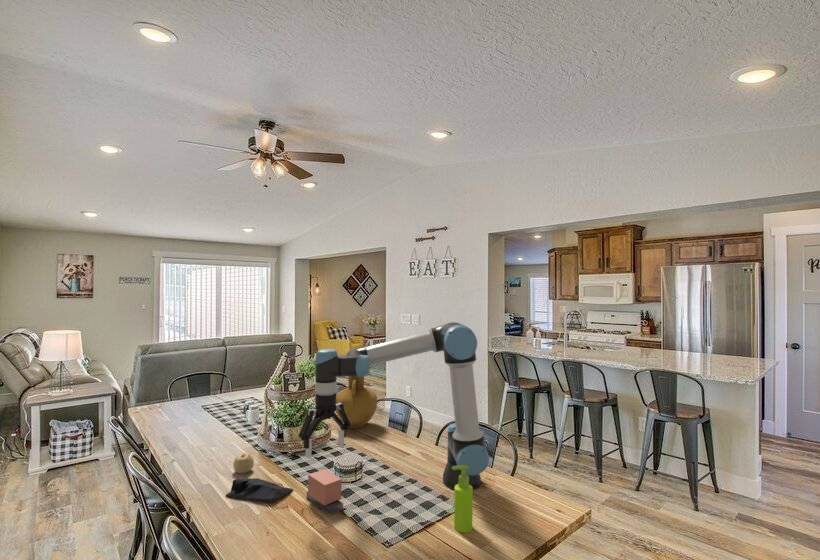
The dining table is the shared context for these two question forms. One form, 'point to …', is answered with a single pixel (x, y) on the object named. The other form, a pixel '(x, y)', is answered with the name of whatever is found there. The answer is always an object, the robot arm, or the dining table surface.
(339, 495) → the pink toy cube
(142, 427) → the dining table surface
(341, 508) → the rail
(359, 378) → the vase
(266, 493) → the black crumpled cloth
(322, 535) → the dining table surface
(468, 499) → the soap dispenser
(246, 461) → the apple
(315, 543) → the dining table surface
